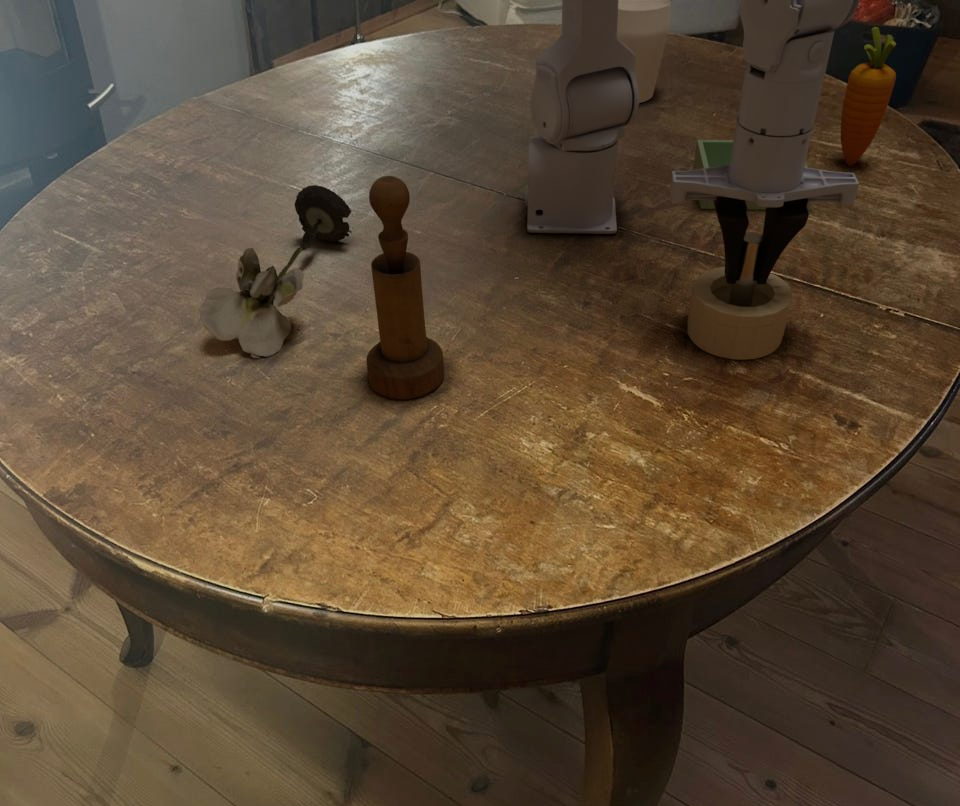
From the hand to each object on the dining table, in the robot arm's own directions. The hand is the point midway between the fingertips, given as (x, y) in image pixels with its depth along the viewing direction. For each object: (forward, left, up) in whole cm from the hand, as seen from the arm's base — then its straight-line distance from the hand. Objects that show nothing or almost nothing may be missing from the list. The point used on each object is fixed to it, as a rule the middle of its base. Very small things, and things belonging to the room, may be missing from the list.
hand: (744, 278), depth 80 cm
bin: (+5, +29, -6) cm, 30 cm away
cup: (-7, +58, -6) cm, 59 cm away
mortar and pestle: (-29, -8, -6) cm, 31 cm away
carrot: (+18, +36, -6) cm, 41 cm away
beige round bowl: (0, 0, -6) cm, 6 cm away
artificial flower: (-42, +5, -6) cm, 43 cm away
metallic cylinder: (0, 0, -5) cm, 5 cm away
